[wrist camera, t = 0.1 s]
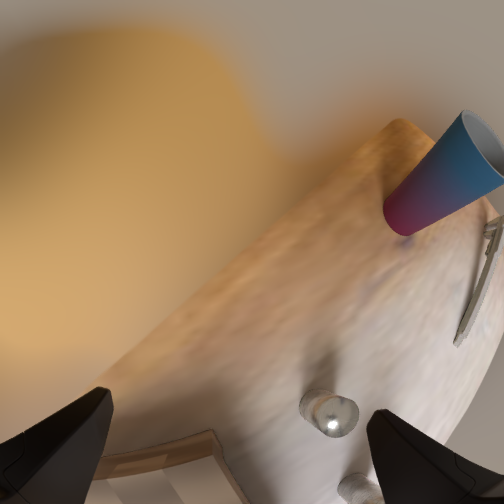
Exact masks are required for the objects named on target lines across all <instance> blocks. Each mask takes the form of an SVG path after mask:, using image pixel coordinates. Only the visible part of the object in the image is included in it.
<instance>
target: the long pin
mask: <svg viewBox="0 0 504 504" xmlns="http://www.w3.org/2000/svg"><path fill="white" fill-rule="evenodd" d="M338 494H339V495H340V496H341V497H342V498H343V499H344V500H345V501H346V502H347V503H348V504H385V502H384V498H383V495H382V491H381V488H380V486H378V485H377V484H375V483H374V482H372V481H371V480H370V479H368V478H367V477H365V476H364V475H363V474H360V473H355V474H352V475H349V476H347V477H346V478H345V479H344V480H342V482H341V483H340V484H339V486H338Z"/></svg>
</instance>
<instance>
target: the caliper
mask: <svg viewBox="0 0 504 504" xmlns="http://www.w3.org/2000/svg"><path fill="white" fill-rule="evenodd" d="M485 228H486V229H487V230H488V231H486V232H484V233H483V235H484V236H485V238H486V239H490V242H489V244H488V247H487V250H486V252H485V255H486V256H487V260H486V263H485V265H484V268H483V271H482V274H481V277H480V279H479V282H478V285H477V287H476V290H475V292H474V294H473V297H472V299H471V301H470V304H469V306H468V308H467V310H466V313H465V315H464V317H463V319H462V321H461V323H460V326H459V329H458V332H457V336H456V338H455V340H454V342H453V344H454V345H455V346H456V347H457V348H458V347H459V346H460V344H461V343H462V341H463V339H464V338H467V336H468V334H469V332H470V330H471V328H472V325H473V323H474V321H475V319H476V317H477V314H478V312H479V310H480V307H481V305H482V302H483V300H484V297H485V295H486V292H487V290H488V287H489V284H490V281H491V278H492V275H493V272H494V269H495V266H496V263H497V260H498V257H500V256H501V253H502V249H503V246H504V215H503V216H500V217H497V218H495V219H494V220H492V221H490V222H488V223H487V224H486V225H485ZM492 229H493V230H492Z"/></svg>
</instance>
